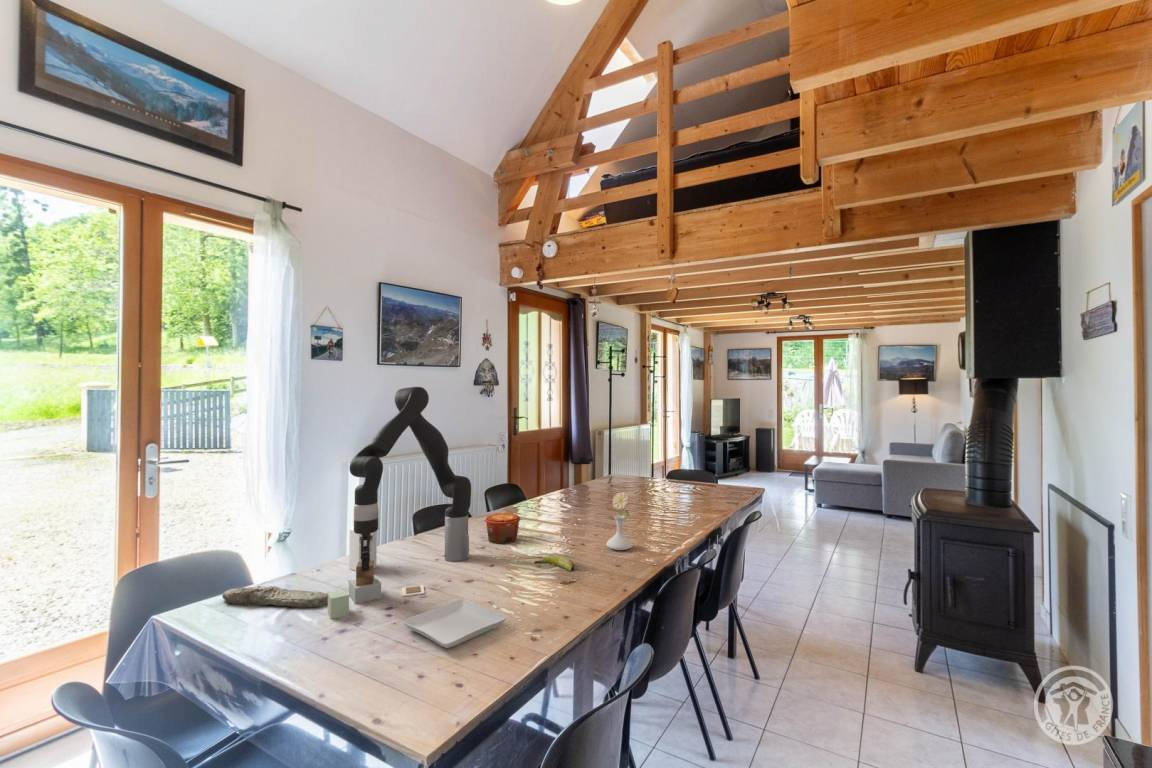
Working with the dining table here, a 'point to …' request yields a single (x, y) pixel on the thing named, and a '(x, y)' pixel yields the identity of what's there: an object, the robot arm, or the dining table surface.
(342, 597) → the sage block
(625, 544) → the flower in vase
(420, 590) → the swatch
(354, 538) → the milk carton
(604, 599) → the dining table surface
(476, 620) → the salad plate
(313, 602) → the long grey stone
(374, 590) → the base block
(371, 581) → the walnut block
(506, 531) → the food container
